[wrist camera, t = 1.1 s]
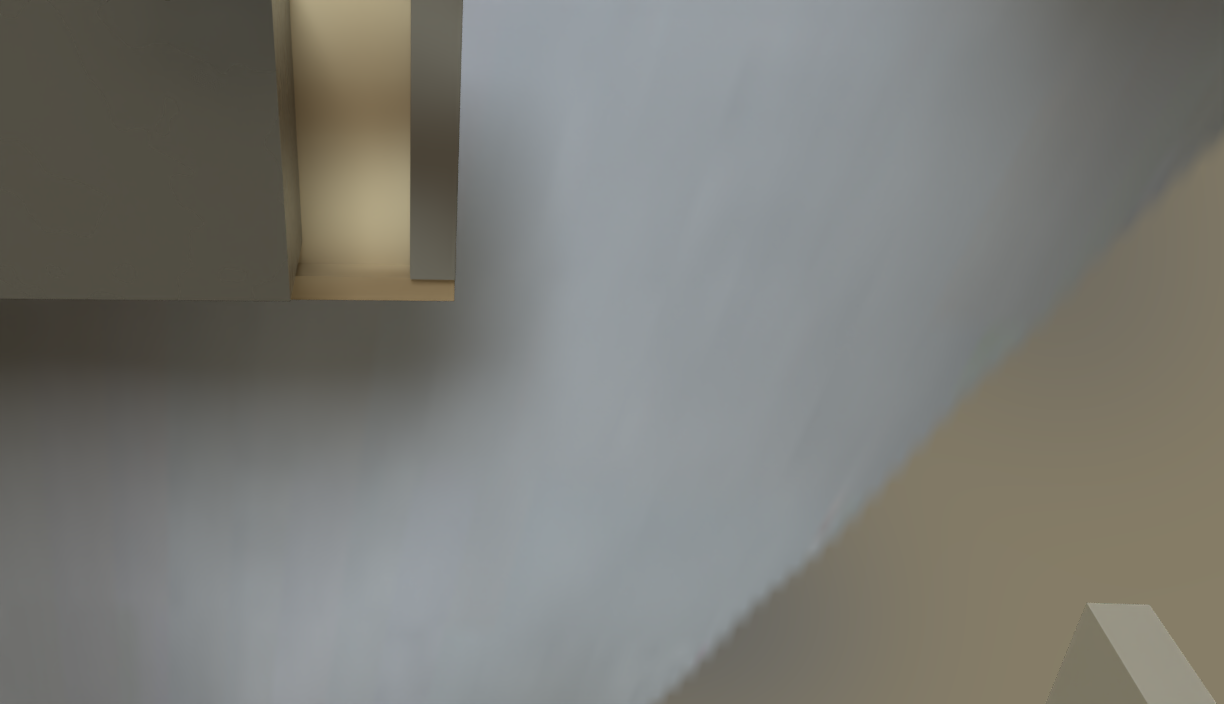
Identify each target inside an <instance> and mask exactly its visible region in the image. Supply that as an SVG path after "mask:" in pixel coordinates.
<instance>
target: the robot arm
mask: <svg viewBox="0 0 1224 704" xmlns="http://www.w3.org/2000/svg"><path fill="white" fill-rule="evenodd" d="M1046 704H1217V703H1216V702H1215V701H1214V699H1213V697H1212V696H1211V695H1210V693H1209V692H1208V690H1207V689H1206V687H1205V686H1204V684H1203V683H1202V681H1201V680H1200V678H1199V677H1198V675H1197V674H1196V672H1195V671H1194V669H1193V668H1192V667H1191V665H1190V664H1189V662H1188V661H1187V659H1186V658H1185V656H1184V655H1183V653H1182V652H1181V650H1180V649H1179V648H1178V646H1177V644H1176V643H1175V641H1174V640H1173V639H1172V637H1171V636H1170V634H1169V633H1168V631H1167V630H1166V628H1165V627H1164V625H1163V624H1162V622H1161V621H1160V620H1159V618H1158V616H1157V615H1156V614H1155V612H1154V611H1153V609H1152V608H1151V606H1150V605H1139V604H1106V603H1087V604H1086V606H1085V608H1084V611H1083V613H1082V616H1081V618H1080V620H1079V623H1078V625H1077V628H1076V631H1075V633H1074V635H1073V638H1072V640H1071V643H1070V645H1069V647H1068V650H1067V652H1066V655H1065V657H1064V660H1063V662H1062V665H1061V667H1060V670H1059V672H1058V674H1057V677H1056V679H1055V682H1054V684H1053V687H1052V689H1051V692H1050V694H1049V697H1048V699H1047V701H1046Z"/></svg>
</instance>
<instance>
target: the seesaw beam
mask: <svg viewBox="0 0 1224 704" xmlns="http://www.w3.org/2000/svg"><path fill="white" fill-rule="evenodd" d="M289 2H290V21H291V39H292V58H293V76H294V95H295V113H296V132H297V151H298V169H299V188H300V206H301V225H302V246H301V251H300V256H299V261H298V266H297V271H296V276H295V281H294V285H293V290H292V295H291V299H296V300H403V301H454V286H455V265H456V229H457V193H458V157H459V122H460V86H461V50H462V14H463V0H289Z"/></svg>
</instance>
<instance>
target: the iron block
mask: <svg viewBox="0 0 1224 704" xmlns="http://www.w3.org/2000/svg"><path fill="white" fill-rule="evenodd" d="M301 246H302V225H301V206H300V188H299V169H298V151H297V132H296V113H295V95H294V76H293V58H292V39H291V21H290V2H289V0H0V299H96V300H208V301H290V300H291V295H292V290H293V285H294V281H295V276H296V271H297V266H298V261H299V256H300V251H301Z"/></svg>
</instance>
